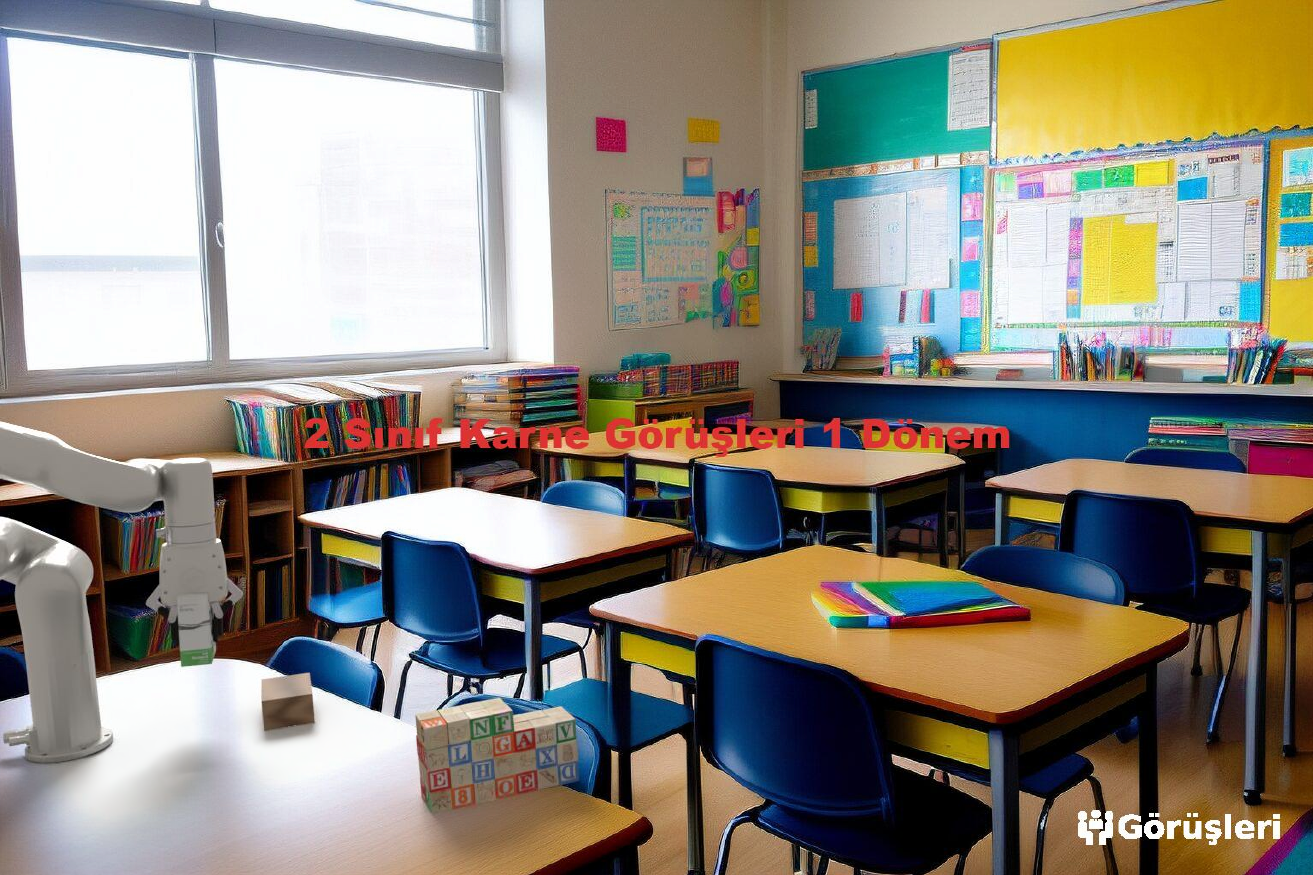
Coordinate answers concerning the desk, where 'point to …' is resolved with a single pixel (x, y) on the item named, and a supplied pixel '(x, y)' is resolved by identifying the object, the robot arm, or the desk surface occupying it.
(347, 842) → the desk surface
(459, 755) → the stack of blocks
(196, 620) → the ink box
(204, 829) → the desk surface
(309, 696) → the walnut block
